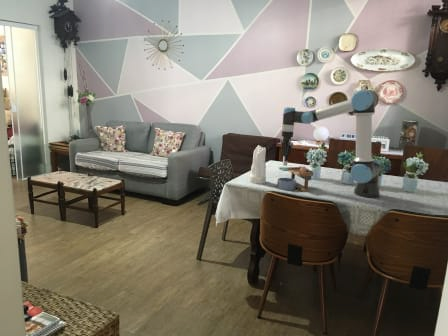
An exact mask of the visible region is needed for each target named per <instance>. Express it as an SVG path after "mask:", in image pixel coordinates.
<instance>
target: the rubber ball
mask: <svg viewBox="0 0 448 336" xmlns="http://www.w3.org/2000/svg"><path fill="white" fill-rule="evenodd" d="M306 169H307V168H306V166H302V167H301V168H300V171H301V172H306Z"/></svg>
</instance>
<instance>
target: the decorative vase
mask: <svg viewBox="0 0 448 336" xmlns="http://www.w3.org/2000/svg"><path fill="white" fill-rule="evenodd" d="M266 151H267V149H266V147H263V146H262V145H259V144H258V145H257V146H256V147H255V149H254V150H253V153H252V154H253V157H252V164H251V167H250V174H249V182H250V183H251V182H252V184H256V183H257V184H259V185H264V184H265V183H266V181H267V176H266V170H267V165H266V153H267V152H266Z"/></svg>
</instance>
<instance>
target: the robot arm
mask: <svg viewBox="0 0 448 336" xmlns="http://www.w3.org/2000/svg"><path fill="white" fill-rule="evenodd" d="M379 101H380V99H379V95H378V93H377V92H376V91H374V90H371V89H366V88H365V89H360V90H357V91H355V92H354V93H353V94H352V96H351V98H350V99H347V100H343V101H340V102H337V103H333V104H330V105H327V106H324V107H320V108H316V109H313V110H310V111H303V110H302V111H299V110H296V107H289V106H288V107H287V106H286V107H284V108H283V113H282V126H281V127H282V131H281V137H282V139H280V142H281V155H282V157H283V158H282V167H288V162H289V161H288V159H289V157H290V156H291V151H292V147H293V142H292V138H293V137H294V129H295V123H297V124H305V125H307V124H308V125H311V123H312V124H313V123H315V122H318V121H321V120H326V119H328V118H332V117H337V116H341V115H344V114H347V113H351V112H353V113H352V115H354V116H355V157H354V158H353V160H352V167H351V170H350V176H351V179H352V180H353V182H355V183H356V185H355V187H354V190H353V194H354V193H355V194H354V195H356V194H357V195H356V196H359V195H360V196H359V197H362V196H365V197H364V198H369V197H373V198H375V197H376V198H379V197H380V193H381V192H380V188H379V187H380V186H379V177H380V170H381V160H380V159H375V158H372V132H373V131H372V129H373V128H372V125H373V123H372V121H373V119H372V118H373V115H375V112H376V110H375V109H376V107H377V105H378V104H379ZM373 198H372V199H373ZM376 198H375V199H376Z"/></svg>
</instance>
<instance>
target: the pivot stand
mask: <svg viewBox="0 0 448 336" xmlns="http://www.w3.org/2000/svg"><path fill="white" fill-rule="evenodd" d="M290 175H291V177H290V178H292V179H295V178H296V175H295V174H293V173H291V174H290ZM295 180H296V179H295ZM309 181H310V180H309V176H305V179H304V181H303V182H304V185H303V184H301V183H299V182H297V181H296V188H295V190H298V191H300V192H301V193H305V192H312V191H311V189H310V188H309Z"/></svg>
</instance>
